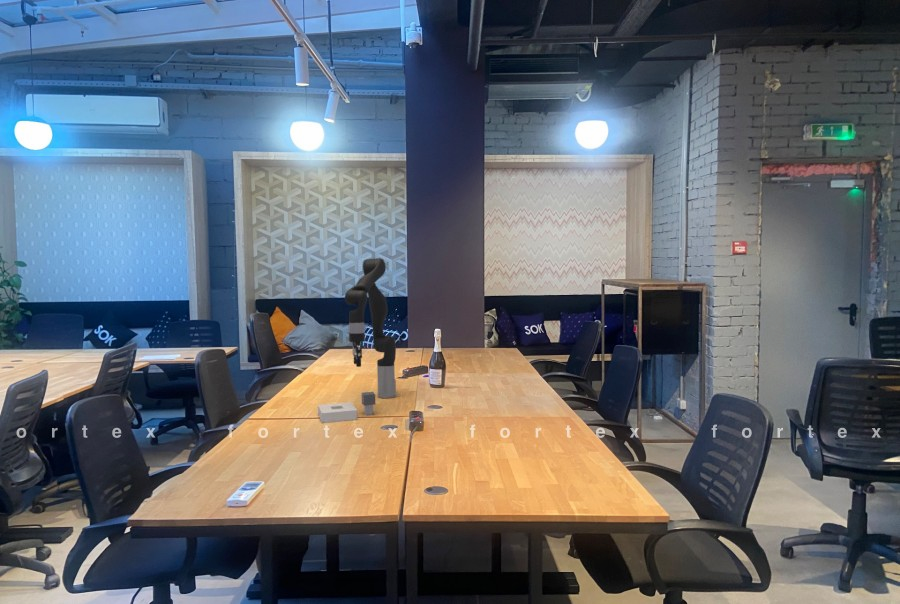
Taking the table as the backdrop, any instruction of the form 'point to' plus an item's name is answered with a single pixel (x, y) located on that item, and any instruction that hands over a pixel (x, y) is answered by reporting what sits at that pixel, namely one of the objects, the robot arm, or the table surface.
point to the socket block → (337, 412)
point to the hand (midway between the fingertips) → (357, 365)
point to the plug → (368, 402)
